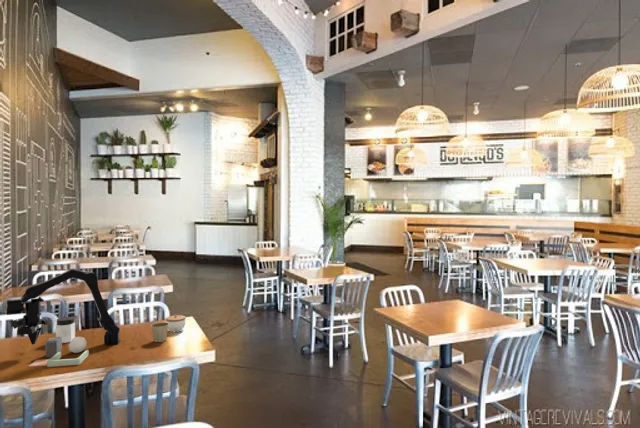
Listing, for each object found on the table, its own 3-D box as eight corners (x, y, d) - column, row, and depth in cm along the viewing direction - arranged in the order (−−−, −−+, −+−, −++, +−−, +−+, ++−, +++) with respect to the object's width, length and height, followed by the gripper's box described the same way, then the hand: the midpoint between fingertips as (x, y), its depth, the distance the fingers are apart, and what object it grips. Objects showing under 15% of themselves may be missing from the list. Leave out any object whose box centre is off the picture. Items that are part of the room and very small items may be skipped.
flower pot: (146, 342, 234) (146, 326, 234) (159, 337, 243) (159, 321, 243) (160, 344, 231) (160, 327, 231) (173, 339, 239) (172, 323, 239)
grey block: (62, 352, 219) (61, 336, 218) (57, 357, 212) (56, 340, 212) (50, 353, 218) (49, 337, 217) (44, 357, 211) (44, 341, 211)
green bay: (58, 357, 212) (58, 352, 212) (88, 355, 214) (88, 350, 214) (47, 366, 199) (47, 361, 199) (79, 364, 202) (79, 359, 202)
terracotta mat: (55, 359, 209) (55, 358, 209) (48, 365, 201) (48, 364, 201) (36, 360, 207) (36, 360, 207) (28, 366, 199) (28, 366, 199)
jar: (56, 344, 232) (56, 321, 232) (55, 340, 239) (55, 318, 239) (75, 341, 237) (75, 319, 237) (74, 337, 244) (74, 316, 244)
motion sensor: (75, 349, 223) (75, 334, 223) (90, 349, 223) (89, 334, 222) (65, 354, 215) (64, 339, 215) (79, 355, 215) (79, 339, 214)
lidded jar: (163, 330, 256) (162, 314, 256) (180, 327, 263) (180, 311, 263) (171, 334, 248) (170, 318, 248) (189, 330, 255) (188, 314, 255)
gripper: (23, 308, 221) (23, 339, 221) (4, 317, 202) (4, 351, 203) (47, 307, 223) (48, 338, 223) (31, 316, 204) (31, 349, 205)
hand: (33, 344), depth 213 cm, fingers closed
